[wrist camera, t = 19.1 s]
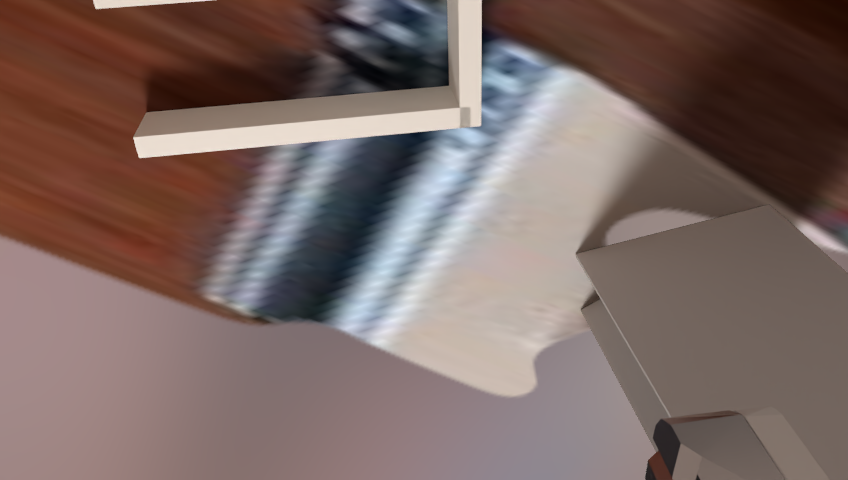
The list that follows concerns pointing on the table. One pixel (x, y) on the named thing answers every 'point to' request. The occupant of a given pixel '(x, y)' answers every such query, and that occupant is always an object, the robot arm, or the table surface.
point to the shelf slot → (326, 104)
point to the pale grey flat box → (728, 326)
